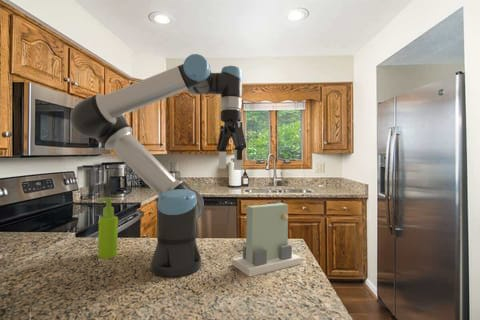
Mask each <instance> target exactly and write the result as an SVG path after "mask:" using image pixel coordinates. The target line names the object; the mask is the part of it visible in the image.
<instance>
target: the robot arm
mask: <svg viewBox="0 0 480 320" xmlns="http://www.w3.org/2000/svg"><path fill="white" fill-rule="evenodd" d="M185 91H188V92H189V94H192V95H193V94H194V95H220V118H219V119H220V122H222V123H223V124H224V125H220V127H219V128H220V129H219V135H218V140H217V145H216V150H217V151H218V169H222V170H223V169H225V170H226V169H227V151H228V150H227V147H228V145H229V141H230V139H231V140H232V142H233V146H234V149H233V150H234V151H233V155H234V156H233V158H234V159H233V170H235V171H243V152H244V149H246V148H247V144H246V138H245V134H244V130H243V122H242V106H243V102H242V93H243V72H242V69H241V68H240V67H238V66H235V65H227V66H223V67H222V68H221V70H220V72H212V70H211V65H210V64H209V62H208V60H207V59H206V58H205V56H203V55H201V54H199V53H192V54H190V55H188V56H187V57H186V59H184V61H183V64H182V63H181V64H180V65H177V66H175V67H172V68H169V69H167V70H165V71H162V72H160V73H157V74H155V75H152V76H149V77H147V78H144V79H142V80H139V81H137V82H134V83H132V84H129V85H127V86H125V87H122V88H119V89H117V90H114V91H111V92H109V93H107V94H102V93H96V94H95V95H92V96H89V97H87V98H84V99H83V100H81V101H79V102H78V103H77V104H75V106H73V108H72V110H71V112H70V116H69V118H70V120H69V121H70V123H71V127H72V128H73V129H74V131H76V133H78V134H79V135H82V136H83V137H87V138H92V139H95V140H96V141H98V143H99V144H101V146H102V147H103V148H104V149H105V150H108V151H113V152H114V153H116V155H117V156H118V157H120V158H121V159H122V161H123V162H124V163H125V164H126V165H127V166H128V167H129V168H130V169H131V170H132V171H133V172H134V173H135V174H136V175H138V177H139V178H140V179H141V180H142V181H143V182H144V183H145V184H146V185H147V186H148V187H149V188H150V190H152V192H154V193H155V194H156V195H157V196H158V198H157V203H156V204H157V205H156V207H157V226H156V227H157V229H156V231H157V233H156V235H157V237H156V239H157V241H156V242H157V243H156V245H155V249H154V251H153V255H152V258H151V261H150V271H151V273H152V274H154V275H156V276H160V277H165V278H175V277H176V278H177V277H183V276H188V275H191V274H194V273H196V272H198V271H199V270H200V269H201V267H202V257H201V253H200V250H199V247H198V244H197V240H196V239H197V237H196V236H197V220H198V219H199V218H200V217H201V216H202V213H203V212H204V205H205V203H204V198H203V197H202V195H201V193H199V192H198V191H197V190H195V189H193V188H191V186H189V185H188V184H187V182H185V180H178V179H177V178H175V176H174V175H172V174H171V172H169V170H168V169H167V168H166V167H165V166H164V165H163V164H162V163H161V162H160V161H159V160H158V159H157V158H156V157H155V156H154V155H153V154H152V153H151V152H150V151H149V150H148V149H147V148H146V147H145V146H144V144H142V143H141V142H140V141H139V140H138V139H137V138H136V137H135V136H134V135H133V128H132V127H131V126H130V125H129V124H128V122H127V119H126V118H125V116H124V115H127V114H129V113H133V112H134V111H137V110H139V109H141V108H144V107H147V106H149V105H152V104H154V103H157V102H159V101H162V100H164V99H167V98H170V97H171V96H174V95H177V94H179V93H182V92H185Z"/></svg>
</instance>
